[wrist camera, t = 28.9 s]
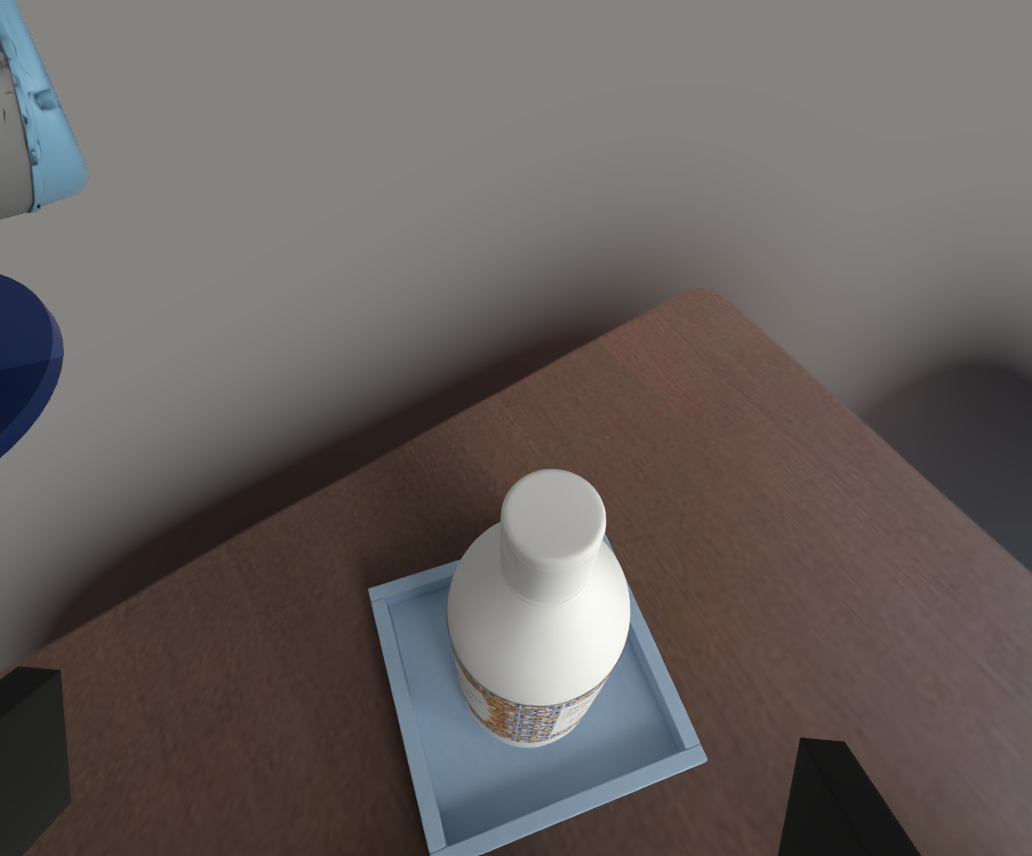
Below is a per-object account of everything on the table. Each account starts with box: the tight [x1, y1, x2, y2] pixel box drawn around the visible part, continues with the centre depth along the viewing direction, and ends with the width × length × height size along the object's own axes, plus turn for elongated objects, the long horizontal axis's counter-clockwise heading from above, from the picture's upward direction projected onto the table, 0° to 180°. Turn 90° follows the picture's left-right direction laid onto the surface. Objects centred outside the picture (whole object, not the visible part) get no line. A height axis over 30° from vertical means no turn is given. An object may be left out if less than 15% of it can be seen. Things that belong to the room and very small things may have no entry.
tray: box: [368, 533, 707, 856], centre depth 34 cm, size 14×14×2 cm
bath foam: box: [447, 469, 630, 748], centre depth 26 cm, size 7×7×20 cm
